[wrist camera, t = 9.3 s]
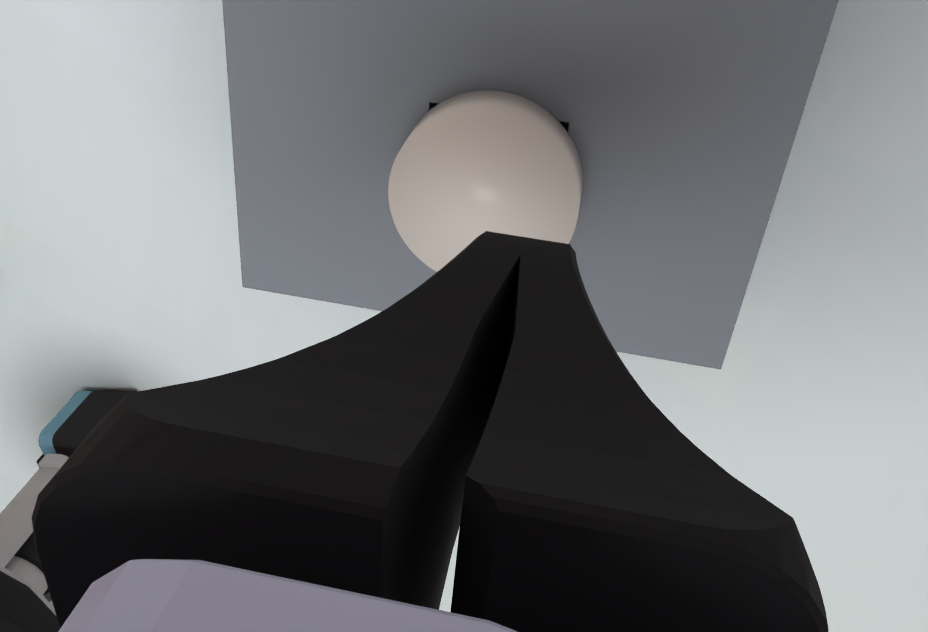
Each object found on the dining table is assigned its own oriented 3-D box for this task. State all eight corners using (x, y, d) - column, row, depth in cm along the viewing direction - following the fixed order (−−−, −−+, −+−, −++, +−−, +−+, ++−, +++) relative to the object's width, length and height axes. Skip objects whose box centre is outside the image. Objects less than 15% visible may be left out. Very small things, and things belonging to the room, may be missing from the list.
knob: (601, 75, 19) (594, 125, 16) (572, 233, 21) (563, 299, 18) (426, 51, 19) (391, 95, 17) (416, 209, 21) (385, 270, 19)
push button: (224, 526, 31) (72, 797, 23) (97, 518, 32) (-93, 775, 24) (173, 380, 28) (-28, 639, 19) (32, 377, 29) (-216, 621, 21)
